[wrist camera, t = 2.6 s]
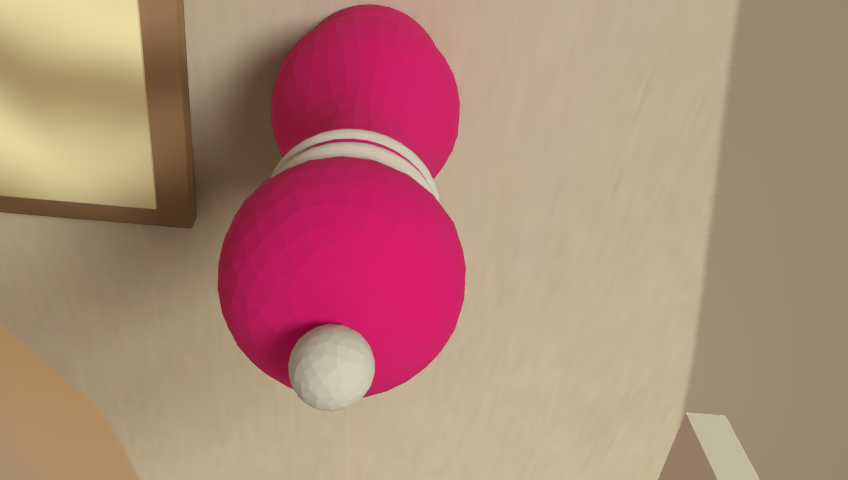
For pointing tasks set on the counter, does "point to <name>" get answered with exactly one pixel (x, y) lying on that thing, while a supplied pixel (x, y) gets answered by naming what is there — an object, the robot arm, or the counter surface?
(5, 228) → the counter surface
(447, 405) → the counter surface
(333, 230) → the pepper mill
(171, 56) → the clipboard
